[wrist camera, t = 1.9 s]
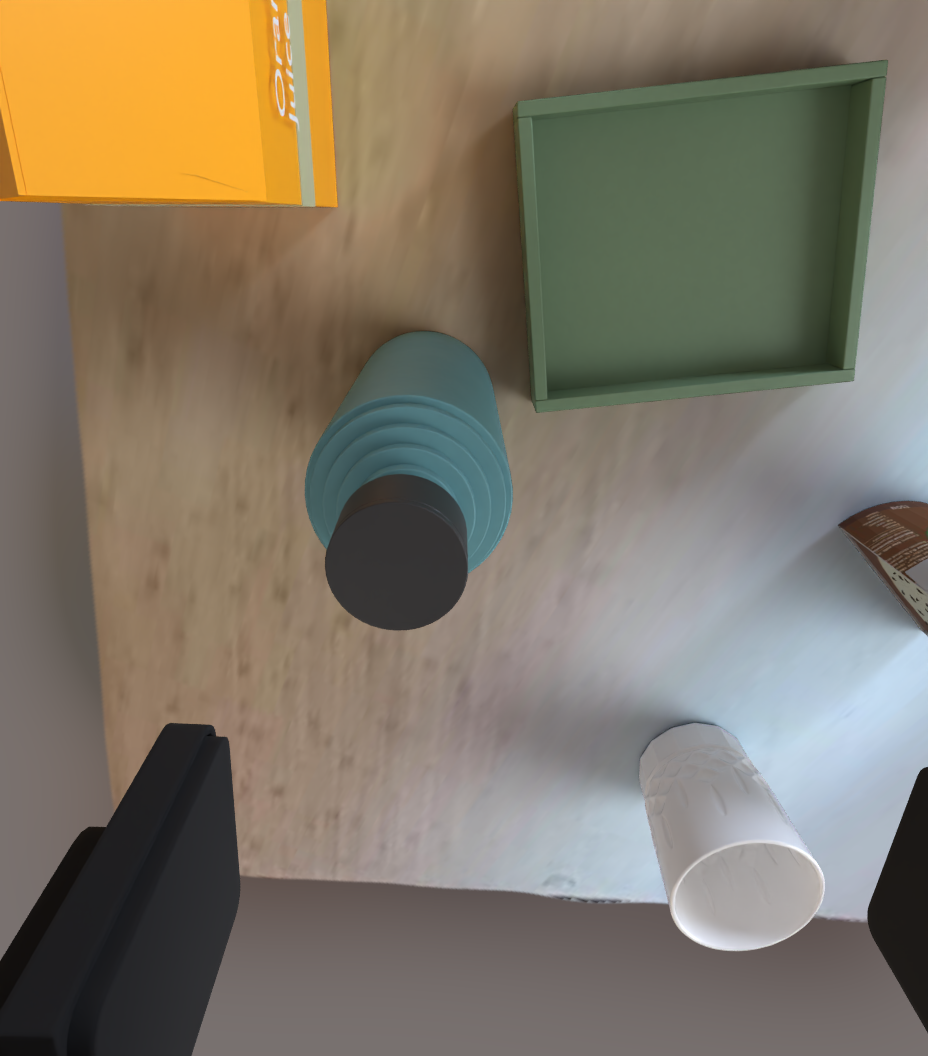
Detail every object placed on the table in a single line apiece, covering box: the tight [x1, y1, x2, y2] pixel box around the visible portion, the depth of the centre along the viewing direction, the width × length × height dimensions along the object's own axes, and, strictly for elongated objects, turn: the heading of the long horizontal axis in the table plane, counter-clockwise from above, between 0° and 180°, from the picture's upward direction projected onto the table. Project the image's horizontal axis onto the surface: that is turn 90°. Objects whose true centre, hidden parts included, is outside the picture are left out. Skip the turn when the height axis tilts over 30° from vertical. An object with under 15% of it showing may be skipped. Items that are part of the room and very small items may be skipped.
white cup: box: [639, 723, 825, 951], centre depth 42 cm, size 8×8×10 cm
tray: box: [513, 60, 888, 413], centre depth 34 cm, size 13×15×2 cm
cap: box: [325, 474, 468, 630], centre depth 21 cm, size 4×4×2 cm
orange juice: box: [0, 0, 338, 207], centre depth 23 cm, size 8×9×20 cm
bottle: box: [305, 331, 513, 573], centre depth 29 cm, size 7×7×19 cm
